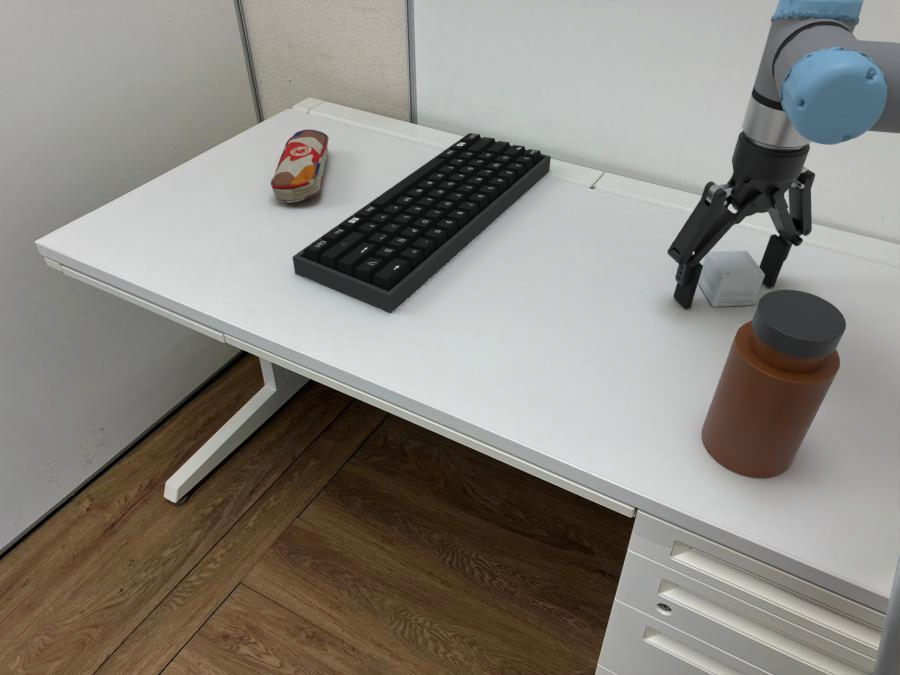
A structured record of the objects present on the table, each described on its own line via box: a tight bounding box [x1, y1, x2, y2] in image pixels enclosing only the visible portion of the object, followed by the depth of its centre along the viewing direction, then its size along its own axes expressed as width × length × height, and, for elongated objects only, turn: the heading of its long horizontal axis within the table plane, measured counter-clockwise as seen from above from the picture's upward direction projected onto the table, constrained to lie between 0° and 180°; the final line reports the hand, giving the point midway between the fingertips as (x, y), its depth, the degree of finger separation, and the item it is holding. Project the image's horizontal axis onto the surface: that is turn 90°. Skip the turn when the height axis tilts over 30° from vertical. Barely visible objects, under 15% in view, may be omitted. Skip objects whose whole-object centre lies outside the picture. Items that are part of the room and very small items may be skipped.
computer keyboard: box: [291, 132, 552, 314], centre depth 104 cm, size 45×16×4 cm, turn 148°
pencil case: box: [270, 128, 330, 204], centre depth 113 cm, size 11×20×5 cm, turn 167°
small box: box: [698, 250, 765, 308], centre depth 90 cm, size 6×6×5 cm
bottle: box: [701, 289, 847, 479], centre depth 67 cm, size 9×9×17 cm
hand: (724, 292), depth 91 cm, fingers open, 12 cm apart
